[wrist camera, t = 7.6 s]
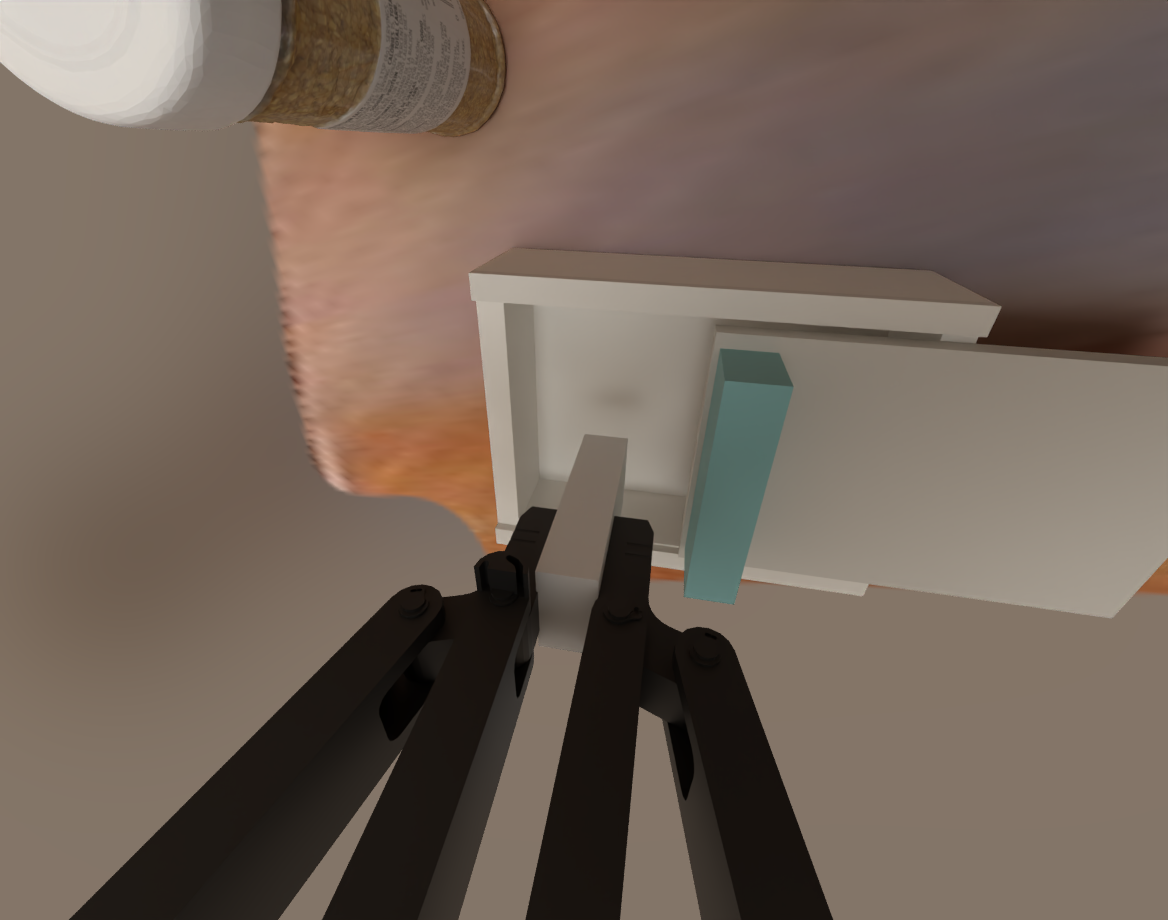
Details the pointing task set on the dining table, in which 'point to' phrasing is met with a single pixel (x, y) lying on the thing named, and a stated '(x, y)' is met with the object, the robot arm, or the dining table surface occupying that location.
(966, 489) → the lid
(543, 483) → the mailer box
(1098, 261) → the dining table surface
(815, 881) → the robot arm
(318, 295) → the dining table surface
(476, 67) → the sprinkles bottle
